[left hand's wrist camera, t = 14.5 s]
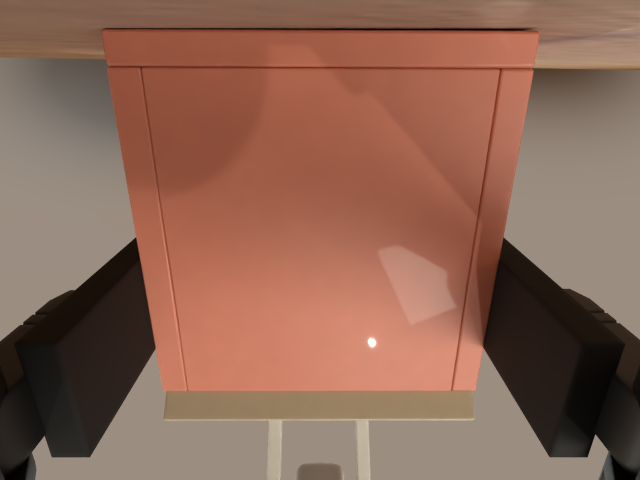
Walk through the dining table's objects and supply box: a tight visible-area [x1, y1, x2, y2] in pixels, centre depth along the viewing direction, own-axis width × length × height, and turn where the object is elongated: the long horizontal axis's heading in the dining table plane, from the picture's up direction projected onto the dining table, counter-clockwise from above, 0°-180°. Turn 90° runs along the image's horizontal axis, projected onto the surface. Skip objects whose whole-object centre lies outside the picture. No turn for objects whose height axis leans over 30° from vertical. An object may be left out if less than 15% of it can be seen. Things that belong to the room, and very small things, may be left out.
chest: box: [102, 29, 540, 391], centre depth 17 cm, size 14×9×9 cm, turn 0°
